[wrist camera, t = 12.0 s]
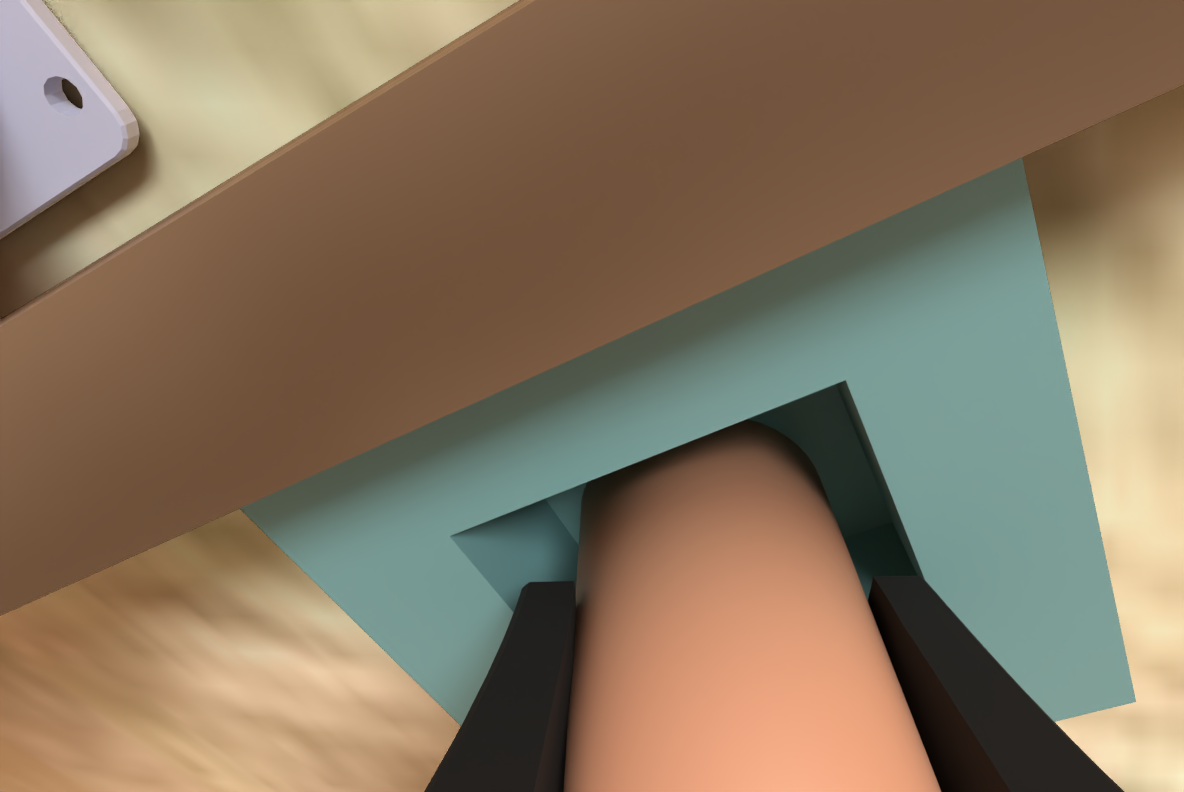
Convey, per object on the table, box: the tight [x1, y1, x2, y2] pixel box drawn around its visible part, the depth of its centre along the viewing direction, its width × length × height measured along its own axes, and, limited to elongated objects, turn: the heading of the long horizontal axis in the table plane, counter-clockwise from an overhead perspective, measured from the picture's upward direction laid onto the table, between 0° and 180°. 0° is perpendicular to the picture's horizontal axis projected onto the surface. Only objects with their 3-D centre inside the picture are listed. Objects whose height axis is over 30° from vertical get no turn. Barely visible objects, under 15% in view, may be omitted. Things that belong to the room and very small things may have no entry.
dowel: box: [564, 419, 941, 792], centre depth 9 cm, size 4×4×8 cm
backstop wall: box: [0, 0, 1184, 616], centre depth 8 cm, size 2×24×6 cm, turn 118°
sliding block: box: [240, 158, 1136, 726], centre depth 12 cm, size 10×10×4 cm
